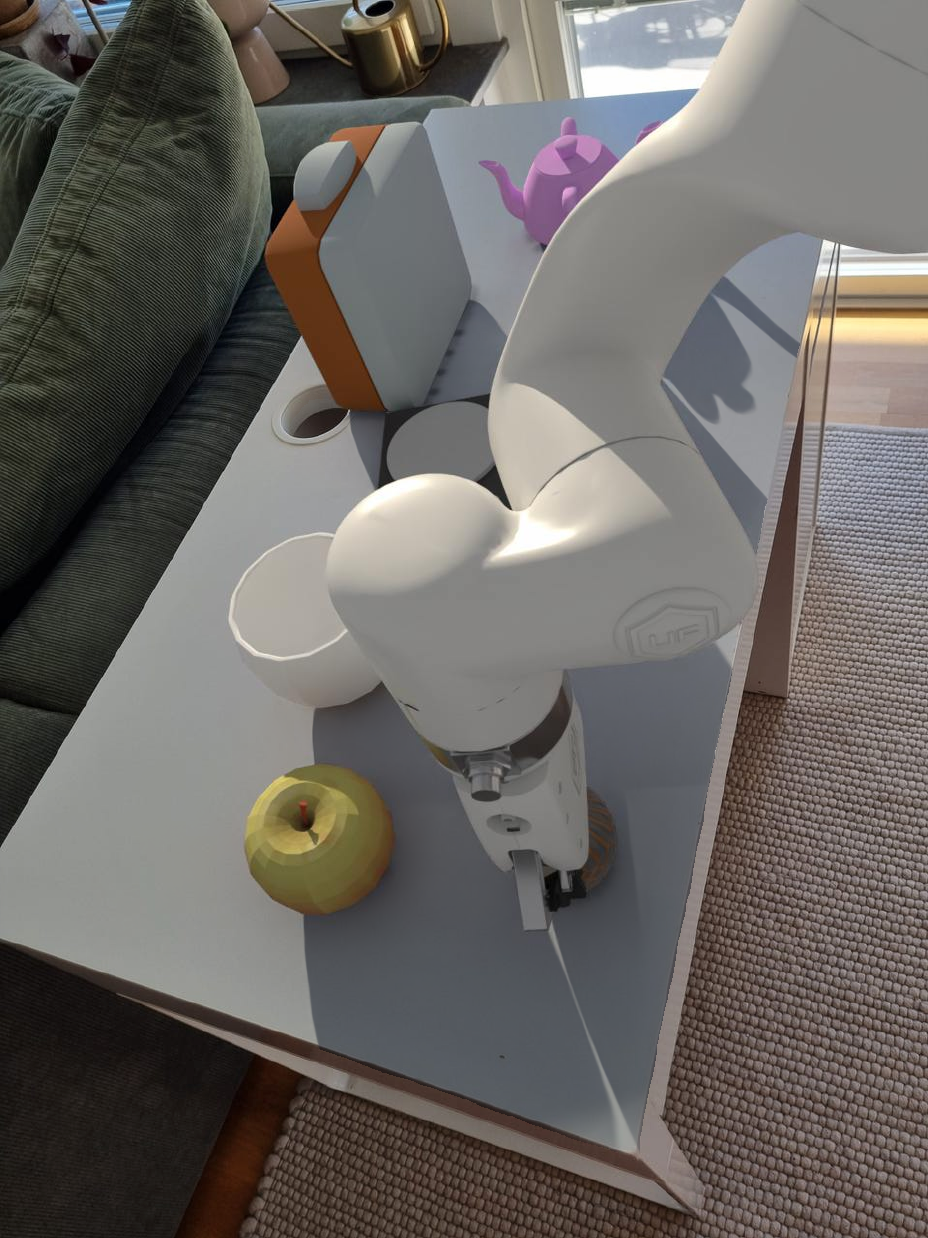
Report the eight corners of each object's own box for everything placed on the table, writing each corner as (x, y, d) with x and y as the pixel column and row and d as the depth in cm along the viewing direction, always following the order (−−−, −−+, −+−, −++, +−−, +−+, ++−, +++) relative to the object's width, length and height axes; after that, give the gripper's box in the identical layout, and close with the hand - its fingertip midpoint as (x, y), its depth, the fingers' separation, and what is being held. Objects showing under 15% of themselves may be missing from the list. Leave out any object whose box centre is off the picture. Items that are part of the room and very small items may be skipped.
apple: (409, 784, 67) (371, 734, 61) (407, 921, 62) (365, 882, 55) (282, 800, 69) (232, 754, 63) (269, 935, 64) (213, 899, 57)
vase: (604, 792, 63) (584, 734, 56) (637, 890, 59) (619, 841, 52) (507, 823, 63) (474, 770, 56) (532, 922, 59) (500, 878, 52)
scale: (518, 408, 85) (511, 383, 83) (520, 528, 77) (512, 505, 75) (393, 431, 88) (382, 407, 85) (382, 549, 80) (370, 527, 78)
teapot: (497, 237, 100) (476, 160, 93) (592, 167, 103) (579, 86, 96) (570, 276, 93) (554, 196, 86) (670, 200, 96) (663, 116, 89)
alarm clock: (400, 288, 100) (328, 98, 83) (477, 287, 96) (417, 88, 80) (338, 416, 91) (244, 231, 75) (420, 419, 88) (340, 226, 71)
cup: (436, 597, 76) (398, 522, 68) (406, 735, 69) (360, 670, 62) (299, 598, 80) (248, 528, 72) (258, 729, 73) (198, 668, 65)
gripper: (578, 874, 38) (630, 978, 52) (563, 538, 48) (610, 703, 62) (402, 886, 40) (499, 983, 54) (421, 558, 49) (499, 714, 64)
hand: (558, 832), depth 58 cm, fingers closed on vase, 6 cm apart
